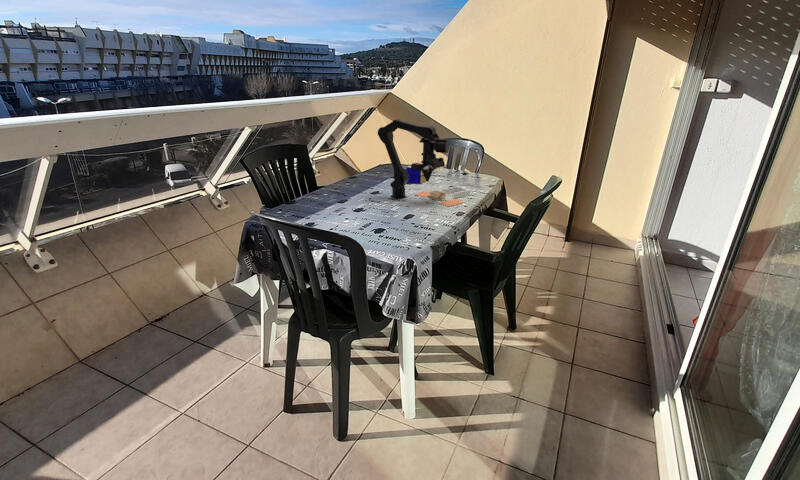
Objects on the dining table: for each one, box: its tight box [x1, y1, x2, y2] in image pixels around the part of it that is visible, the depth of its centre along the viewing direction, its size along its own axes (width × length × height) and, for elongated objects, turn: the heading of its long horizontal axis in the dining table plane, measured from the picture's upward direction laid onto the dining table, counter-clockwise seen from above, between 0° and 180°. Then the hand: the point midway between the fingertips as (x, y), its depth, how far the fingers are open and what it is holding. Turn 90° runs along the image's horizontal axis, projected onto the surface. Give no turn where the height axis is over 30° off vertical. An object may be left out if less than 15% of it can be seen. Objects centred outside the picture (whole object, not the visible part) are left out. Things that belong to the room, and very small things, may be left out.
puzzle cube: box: [406, 165, 427, 185], centre depth 252 cm, size 10×10×10 cm
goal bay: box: [440, 185, 471, 199], centre depth 225 cm, size 12×11×3 cm
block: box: [429, 189, 447, 202], centre depth 218 cm, size 6×6×4 cm
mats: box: [414, 190, 466, 207], centre depth 219 cm, size 12×29×1 cm, turn 36°
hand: (427, 181), depth 210 cm, fingers closed
